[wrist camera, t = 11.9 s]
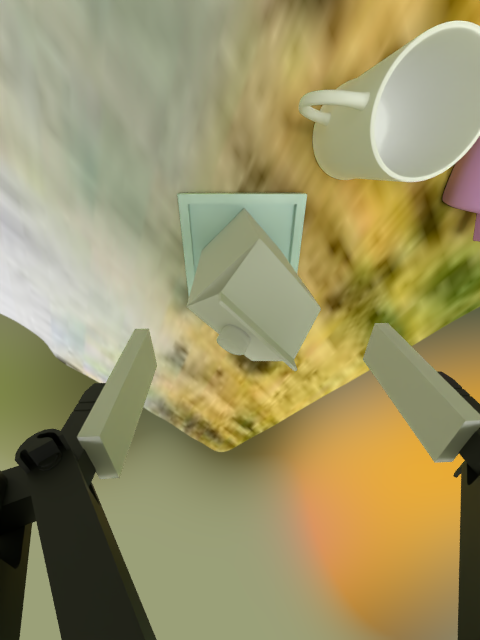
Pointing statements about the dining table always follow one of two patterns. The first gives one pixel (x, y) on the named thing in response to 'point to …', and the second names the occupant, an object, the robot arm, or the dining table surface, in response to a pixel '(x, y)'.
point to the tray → (221, 208)
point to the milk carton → (252, 294)
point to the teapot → (466, 185)
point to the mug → (403, 110)
